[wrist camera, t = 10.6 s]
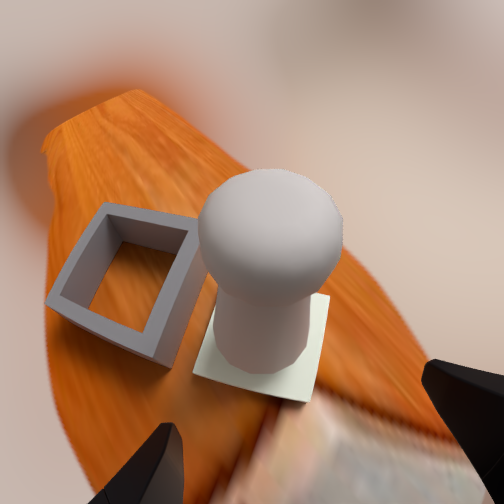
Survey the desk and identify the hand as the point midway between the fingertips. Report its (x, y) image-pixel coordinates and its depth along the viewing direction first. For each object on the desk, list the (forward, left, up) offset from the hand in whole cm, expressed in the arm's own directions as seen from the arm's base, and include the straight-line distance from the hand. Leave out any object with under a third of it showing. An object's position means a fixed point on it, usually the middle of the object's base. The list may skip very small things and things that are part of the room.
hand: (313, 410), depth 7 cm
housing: (+6, +13, -10) cm, 18 cm away
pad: (+5, +2, -10) cm, 12 cm away
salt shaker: (+5, +3, -9) cm, 11 cm away
